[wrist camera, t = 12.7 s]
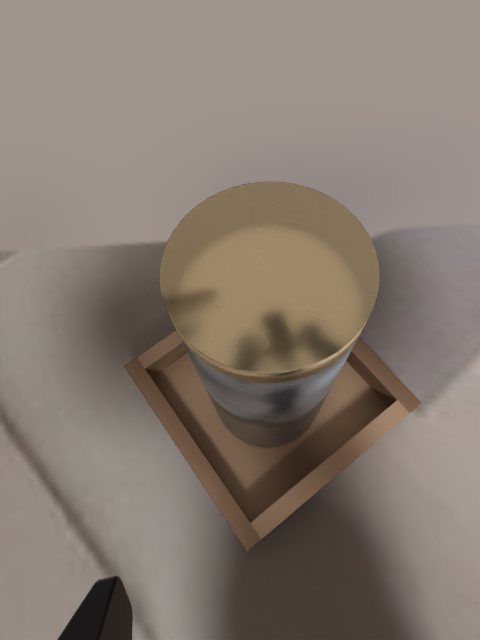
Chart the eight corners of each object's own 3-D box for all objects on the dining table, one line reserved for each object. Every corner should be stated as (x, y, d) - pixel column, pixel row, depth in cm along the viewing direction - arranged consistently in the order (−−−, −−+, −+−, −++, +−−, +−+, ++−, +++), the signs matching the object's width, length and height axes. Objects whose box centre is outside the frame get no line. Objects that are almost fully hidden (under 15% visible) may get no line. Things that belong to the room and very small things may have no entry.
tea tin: (305, 462, 21) (354, 402, 9) (200, 428, 22) (124, 334, 10) (330, 360, 23) (397, 205, 11) (234, 333, 24) (203, 164, 12)
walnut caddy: (248, 547, 20) (246, 551, 18) (135, 378, 24) (123, 366, 22) (407, 412, 22) (421, 403, 20) (281, 276, 26) (282, 257, 24)
